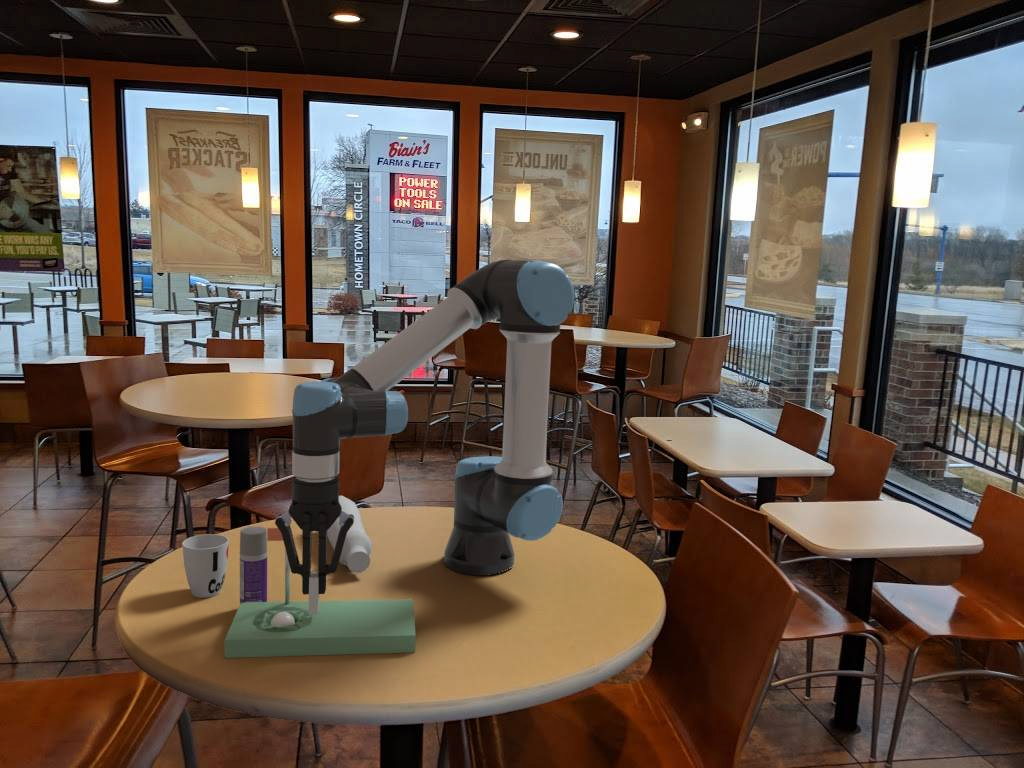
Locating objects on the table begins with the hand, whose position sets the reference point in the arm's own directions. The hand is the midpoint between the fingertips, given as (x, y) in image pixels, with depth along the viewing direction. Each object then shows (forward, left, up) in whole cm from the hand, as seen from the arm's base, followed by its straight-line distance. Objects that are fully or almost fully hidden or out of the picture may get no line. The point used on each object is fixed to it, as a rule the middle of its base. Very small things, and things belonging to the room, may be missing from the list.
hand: (313, 611), depth 134 cm
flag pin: (+7, -6, -1) cm, 9 cm away
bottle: (-3, -39, -5) cm, 39 cm away
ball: (+5, 0, -2) cm, 6 cm away
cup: (+21, -19, -5) cm, 29 cm away
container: (+11, -10, -5) cm, 16 cm away
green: (-2, 0, -4) cm, 5 cm away
